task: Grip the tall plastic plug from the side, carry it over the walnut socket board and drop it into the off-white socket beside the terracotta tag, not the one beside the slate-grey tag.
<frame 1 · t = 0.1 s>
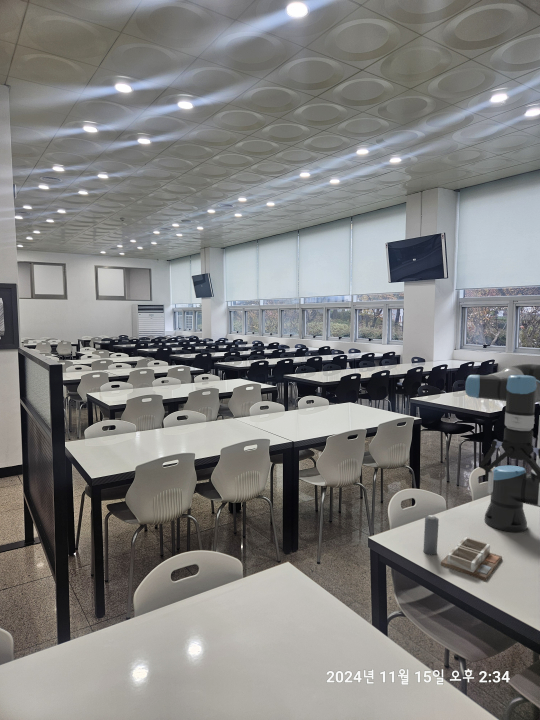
hand: (514, 498, 139), 28 cm above the table, tool pointing down, fingers open, 13 cm apart
socket board: (471, 561, 156), on the table
plug: (430, 552, 163), on the table
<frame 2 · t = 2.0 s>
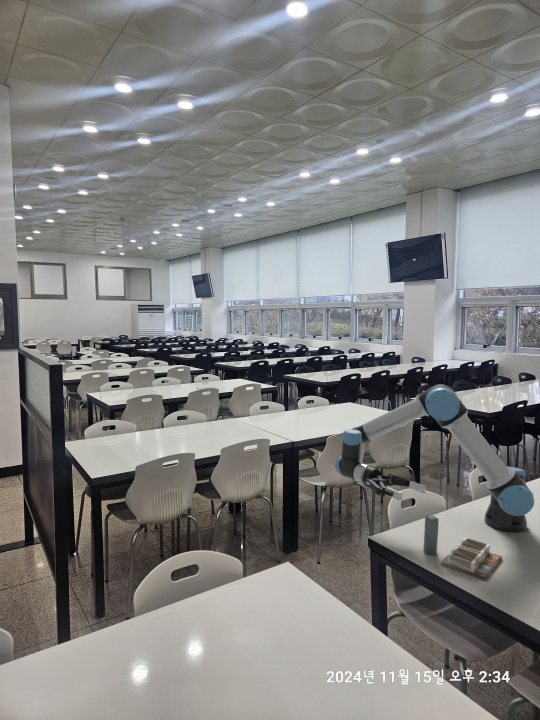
hand: (413, 493, 168), 18 cm above the table, tool horizontal, fingers open, 13 cm apart
nothing on the table moved.
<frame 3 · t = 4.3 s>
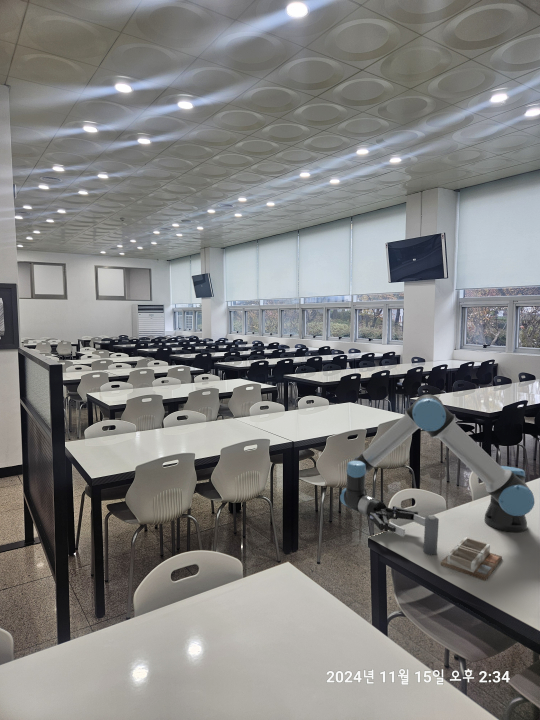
hand: (416, 528, 167), 6 cm above the table, tool horizontal, fingers open, 13 cm apart
nothing on the table moved.
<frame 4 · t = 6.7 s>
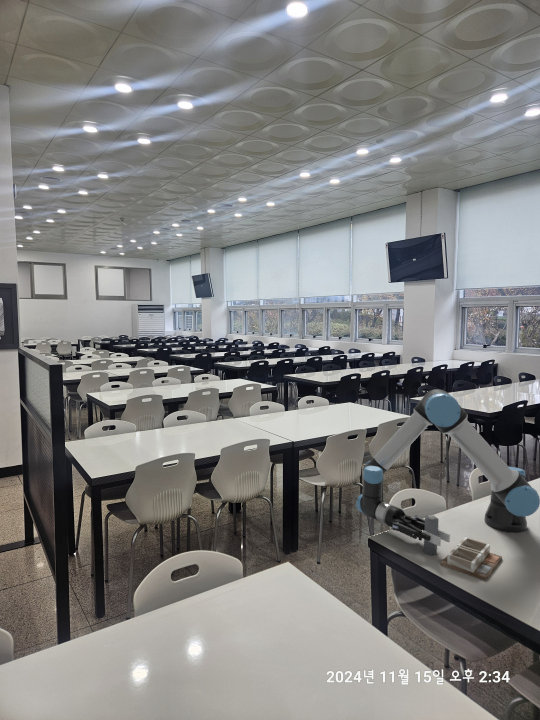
hand: (444, 540, 158), 7 cm above the table, tool horizontal, fingers closed on plug, 4 cm apart
plug: (430, 552, 163), on the table, touching gripper
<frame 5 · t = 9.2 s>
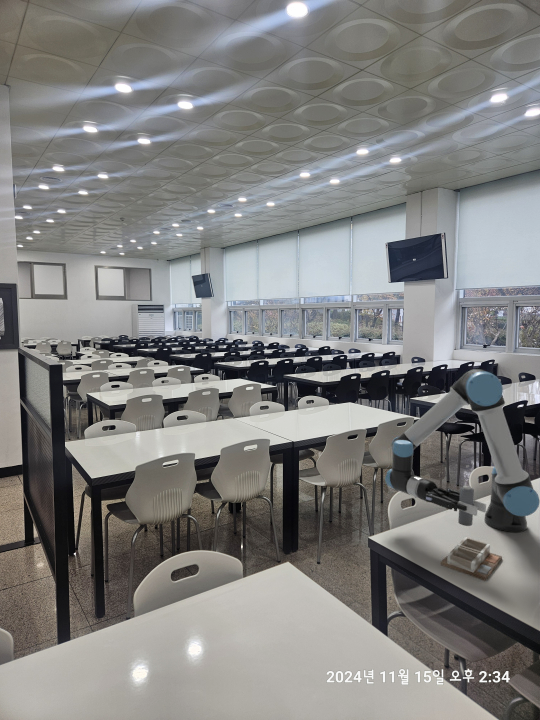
hand: (480, 509, 155), 18 cm above the table, tool horizontal, fingers closed on plug, 4 cm apart
plug: (465, 523, 160), point 11 cm above the table, touching gripper
when the fingers open (9 cm above the table, at t = 11.8 s): plug drops 2 cm, resting on socket board.
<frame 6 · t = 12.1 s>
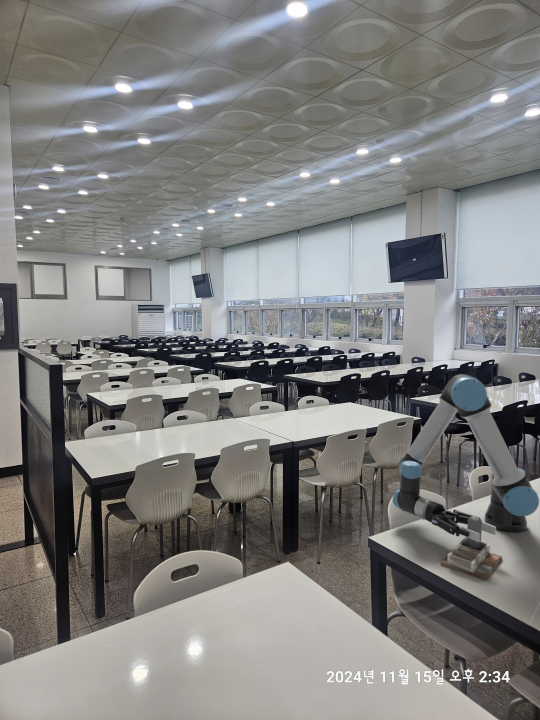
hand: (487, 534, 156), 10 cm above the table, tool horizontal, fingers open, 9 cm apart
plug: (473, 552, 160), point 1 cm above the table, touching socket board
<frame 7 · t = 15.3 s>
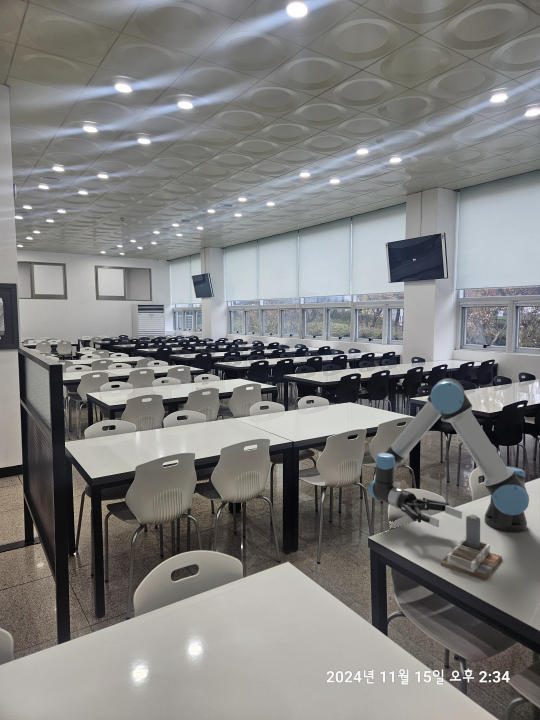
hand: (450, 519, 168), 10 cm above the table, tool horizontal, fingers open, 13 cm apart
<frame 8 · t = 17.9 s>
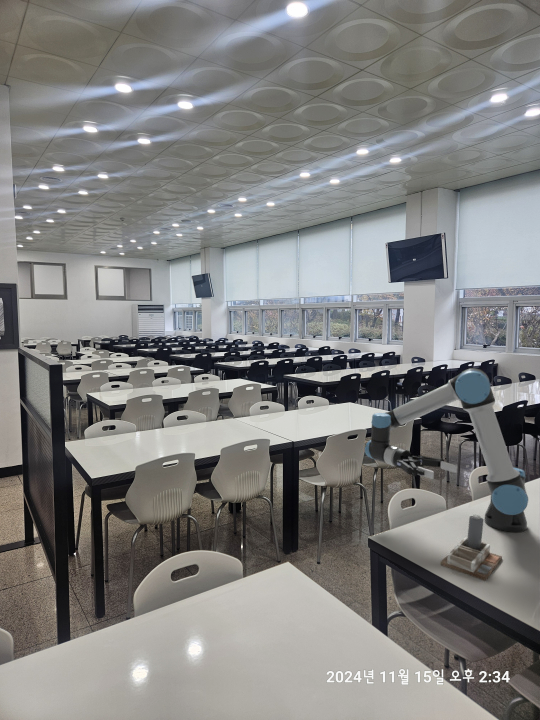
hand: (445, 472, 168), 26 cm above the table, tool horizontal, fingers open, 13 cm apart
at the end: plug 0.1 cm from the target spot on the socket board, point 1.1 cm above the socket board's base; plug tilted 3°; the gripper is holding nothing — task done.
